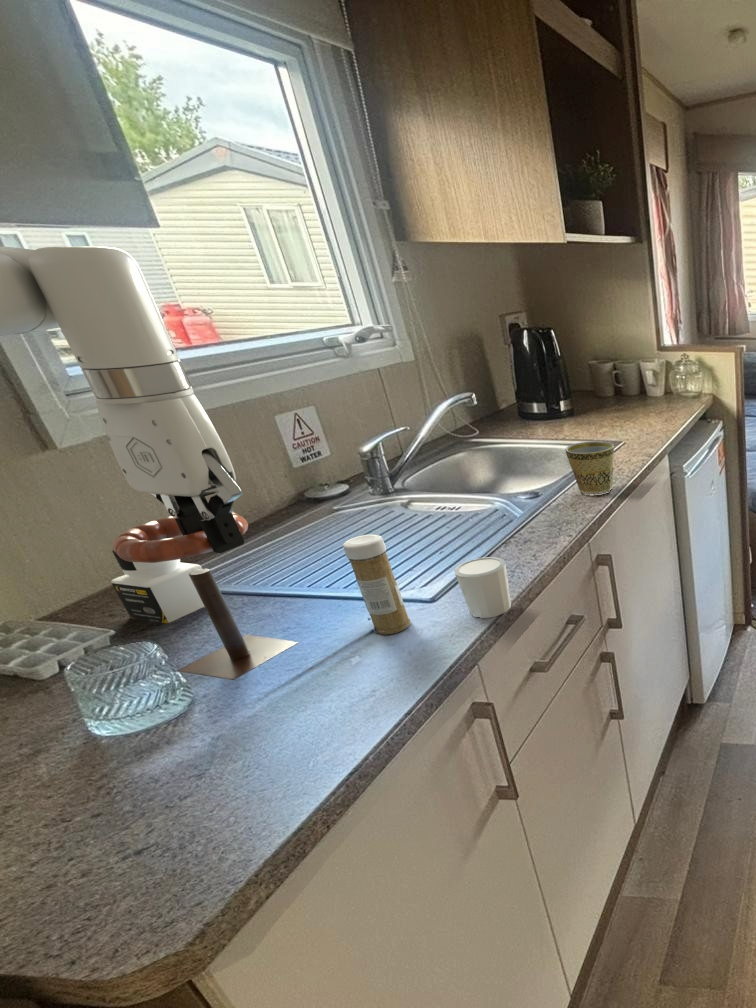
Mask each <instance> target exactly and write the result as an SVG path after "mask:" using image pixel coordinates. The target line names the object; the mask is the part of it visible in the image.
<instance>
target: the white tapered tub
mask: <svg viewBox="0 0 756 1008" xmlns="http://www.w3.org/2000/svg"><path fill="white" fill-rule="evenodd" d="M453 573H454V575H455V578H456V581H457V583H458V586H459V588H460V591H461V593H462V596H463V598H464V600H465V602H466V605H467V608H468V611H469V613H470V616H472V615H473V616H472V617H474V616H475V617H474V618H476V617H480V618H479V619H488V618H489V619H490V618H494V617H498V616H500V615H503V614H505V613H506V612H508V611H509V610H510V609H511V607H512V600H511V593H510V586H509V577H508V571H507V564H506V561H505V559H503V558H500V557H493V556H487V557H478V558H474V559H470V560H467V561H464V562H462V563H460V564H458V565H457V566H456V567H455V568H454V569H453Z"/></svg>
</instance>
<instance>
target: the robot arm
mask: <svg viewBox="0 0 756 1008" xmlns="http://www.w3.org/2000/svg"><path fill="white" fill-rule="evenodd" d="M55 329H60V330H61V333H62V334H63V336H64V338H65V340H66V342H67V344H68V346H69V349H70V350H71V352H72V354H73V356H74V358H75V360H76V362H77V364H78V366H79V368H80V369H81V372H82V373H83V376H84V377H85V380H86V382H87V383H88V385H89V387H90V390H91V391H92V393H93V396H94V398H95V403H96V407H97V411H98V415H99V418H100V422H101V424H102V427H103V430H104V433H105V436H106V437H107V441H108V443H109V445H110V448H111V450H112V453H113V454H114V457H115V459H116V461H117V464H118V465H119V468H120V470H121V472H122V474H123V476H124V478H125V481H126V482H127V484H128V485H129V487H130V488H132V489H133V490H135V491H137V492H140V493H143V494H149V495H151V496H153V497H155V498H156V500H158V501H159V502H160V503H161V504H163V505H164V507H165V509H166V512H167V513H168V515H169V517H170V516H172V517H174V518H175V517H178V518H175V520H176V522H177V525H178V527H179V529H180V531H181V533H182V535H181V536H184V535H188V534H192V533H196V532H200V531H203V530H204V532H205V534H206V536H207V539H208V541H209V543H210V545H211V547H212V549H213V551H212V552H214V553H215V554H223V553H225V552H228V551H231V550H233V549H235V548H238V547H240V546H243V545H244V544H245V539H244V537H243V535H241V532H240V530H239V528H238V526H237V523H236V521H235V519H234V517H233V515H232V512H234V511H235V508H234V506H233V504H234V502H235V501H236V500H237V499H238V498H240V497H241V496H242V495H243V491H242V489H241V487H240V486H238V484H237V483H236V480H237V476H236V471H235V469H234V466H233V463H232V461H231V458H230V456H229V454H228V452H227V450H226V448H225V445H224V443H223V442H222V439H221V438H220V435H219V433H218V432H217V430H216V428H215V426H214V424H213V422H212V421H211V419H210V417H209V415H208V413H207V411H205V409H204V407H203V405H202V404H201V402H200V401H199V399H198V398H197V396H196V395H195V391H194V389H193V387H192V383H191V381H190V380H189V377H188V375H187V373H186V371H185V368H184V366H183V363H182V361H181V360H180V357H179V354H178V352H177V349H176V347H175V345H174V343H173V340H172V339H171V336H170V333H169V331H168V328H167V327H166V324H165V322H164V319H163V318H162V315H161V313H160V311H159V307H157V304H156V302H155V299H154V297H153V294H152V292H151V290H150V288H149V285H148V283H147V281H146V279H145V277H144V274H143V272H142V270H141V268H140V266H139V264H138V262H137V261H136V260H135V259H134V258H133V256H132V255H130V253H128V252H127V251H124V250H123V249H120V248H116V247H110V246H91V245H90V246H82V245H81V246H79V245H77V246H45V247H38V248H36V249H31V248H21V247H13V246H2V245H0V337H5V336H12V335H22V334H29V333H30V334H31V333H37V332H42V331H48V330H55ZM209 485H210V486H209ZM211 495H212V496H211ZM208 496H210V498H209V500H207V498H206V497H208Z"/></svg>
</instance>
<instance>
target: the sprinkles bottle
mask: <svg viewBox="0 0 756 1008" xmlns="http://www.w3.org/2000/svg"><path fill="white" fill-rule="evenodd" d="M342 547H343V551H344V553H345V556H346V558H347V559H348V561H349V562H350V565H351V568H352V570H353V573H354V577H355V580H356V584H357V587H358V588H359V591H360V594H361V596H362V599H363V602H364V605H365V608H366V610H367V612H368V614H369V616H370V619H371V623H372V625H373V631H374V632H375V633H376V634H378V635H382V636H383V635H384V636H385V635H386V636H387V635H393V634H397V633H401V632H402V631H404V630H406V629H408V627H409V626H410V625H411V619H410V618H409V616H408V612H407V610H406V607H405V604H404V599H403V597H402V593H401V591H400V588H399V585H398V583H397V581H396V577H395V575H394V572H393V570H392V566H391V563H390V561H389V558H388V555H387V547H386V544H385V541H384V538H383V536H381V535H379V534H363V535H358V536H355V537H351V538H350V539H347V540H346V541H345V542H344V543H343V544H342Z"/></svg>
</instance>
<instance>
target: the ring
mask: <svg viewBox="0 0 756 1008" xmlns="http://www.w3.org/2000/svg"><path fill="white" fill-rule="evenodd" d="M232 515H233V517H234V519H235V521H236V523H237V526H238V528H239V530H240V532H241V535H242V536H243V535H245V533H246V532H247V531H248V529H249V523H248V521H247V519H245V518H244V517H243V516H241V515H240V514H238V513H237V512H232ZM175 518H178V517H175ZM175 518H174V517H172V516H170V515H169V516H166V517H162V518H157V519H153V520H150V521H148V522H144V523H142V524H139V525H136V526H134V527H131V528H129V529H127V530H125V531H124V532H122V533H121V534H120V535H119V536H117V537H116V538H115V539H113V541H112V543H111V547H112V551H113V550H114V551H115V552H116V553H117V555H118V556H119V557H120V558H121V559H123V560H125V561H129V562H144V563H156V562H163V561H170V560H177V559H180V560H185V559H188V558H192V557H195V556H198V555H203V554H207V553H210V552H214V551H213V549H212V547H211V545H210V543H209V541H208V539H207V536H206V534H205V532H204V530H203V531H200V532H196V533H192V534H188V535H184V536H183V535H182V533H181V531H180V529H179V527H178V525H177V522H176V520H175Z"/></svg>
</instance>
